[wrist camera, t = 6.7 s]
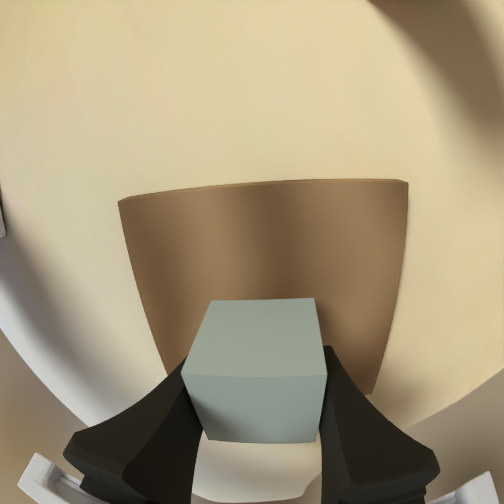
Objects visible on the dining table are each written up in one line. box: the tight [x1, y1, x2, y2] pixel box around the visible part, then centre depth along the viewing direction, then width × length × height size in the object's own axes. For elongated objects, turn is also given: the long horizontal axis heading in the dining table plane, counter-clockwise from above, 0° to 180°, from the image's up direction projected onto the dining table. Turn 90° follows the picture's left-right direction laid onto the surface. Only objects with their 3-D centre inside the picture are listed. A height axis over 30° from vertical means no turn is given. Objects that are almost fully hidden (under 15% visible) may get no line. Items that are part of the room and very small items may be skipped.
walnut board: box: [118, 179, 408, 395], centre depth 14 cm, size 14×14×1 cm
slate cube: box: [181, 298, 327, 444], centre depth 10 cm, size 4×4×4 cm
